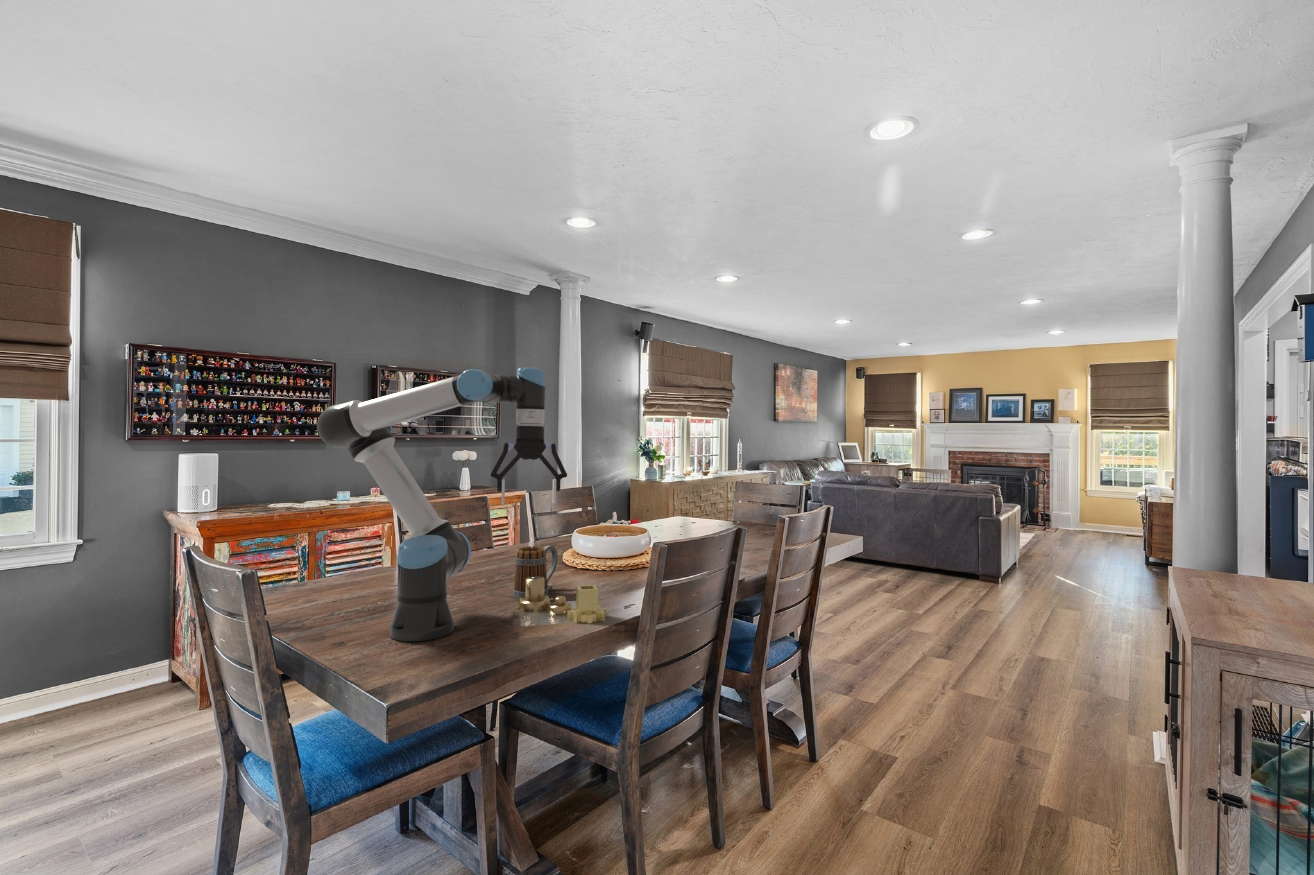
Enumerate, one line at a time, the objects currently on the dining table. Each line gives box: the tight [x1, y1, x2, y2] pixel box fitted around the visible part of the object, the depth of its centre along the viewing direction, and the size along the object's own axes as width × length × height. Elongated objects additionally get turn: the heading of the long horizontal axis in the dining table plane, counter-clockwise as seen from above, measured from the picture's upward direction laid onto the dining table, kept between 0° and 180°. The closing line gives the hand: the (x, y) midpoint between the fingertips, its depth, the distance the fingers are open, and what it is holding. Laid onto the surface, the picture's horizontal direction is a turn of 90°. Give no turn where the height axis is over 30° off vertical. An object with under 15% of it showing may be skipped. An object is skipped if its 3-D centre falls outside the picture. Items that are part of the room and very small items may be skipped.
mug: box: [512, 545, 559, 599], centre depth 188 cm, size 16×11×15 cm
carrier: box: [515, 576, 607, 627], centre depth 169 cm, size 23×22×10 cm
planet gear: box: [567, 584, 608, 624], centre depth 164 cm, size 10×10×8 cm
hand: (528, 503), depth 166 cm, fingers open, 13 cm apart
